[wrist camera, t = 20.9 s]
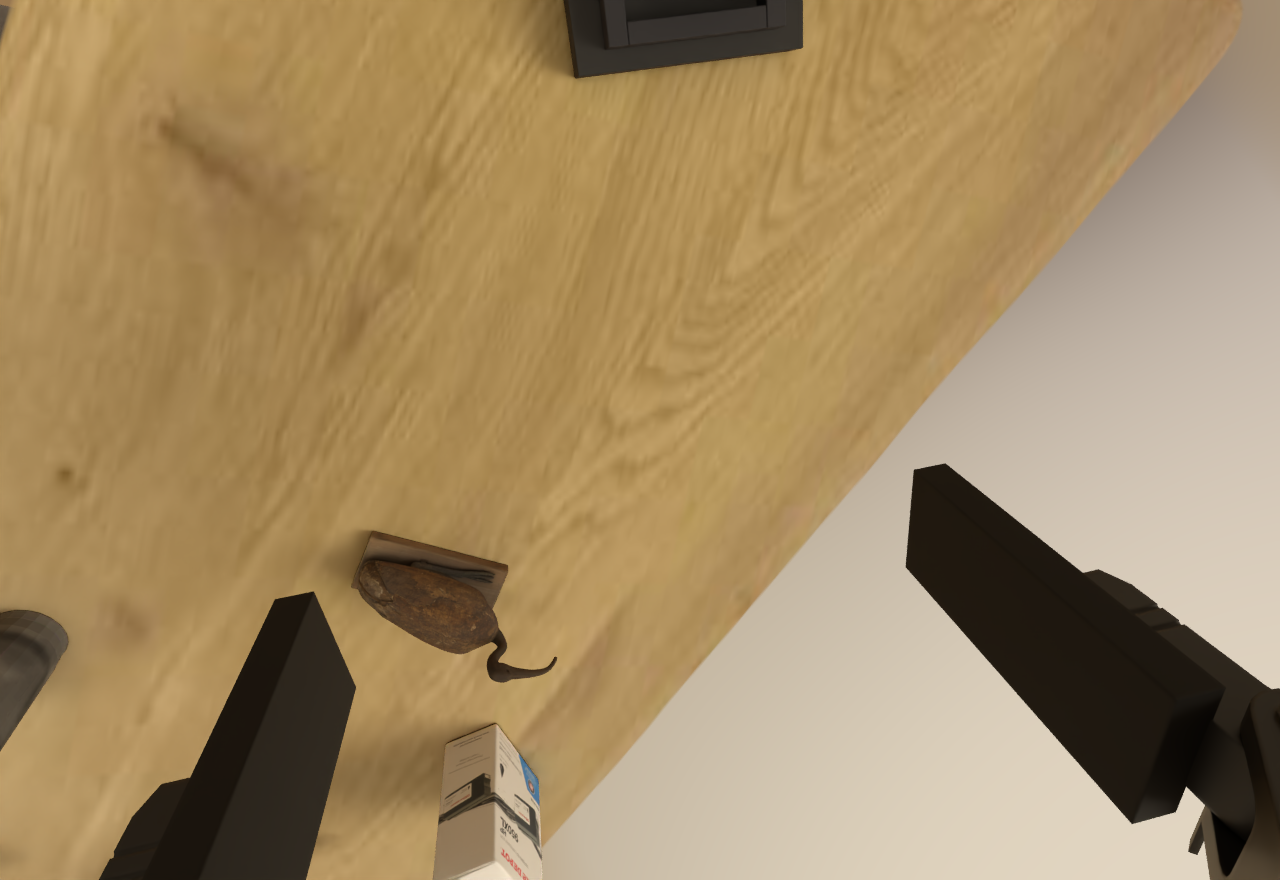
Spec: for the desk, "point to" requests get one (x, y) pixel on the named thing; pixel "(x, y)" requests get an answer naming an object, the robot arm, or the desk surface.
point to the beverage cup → (25, 663)
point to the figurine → (438, 597)
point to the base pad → (677, 32)
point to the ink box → (487, 812)
